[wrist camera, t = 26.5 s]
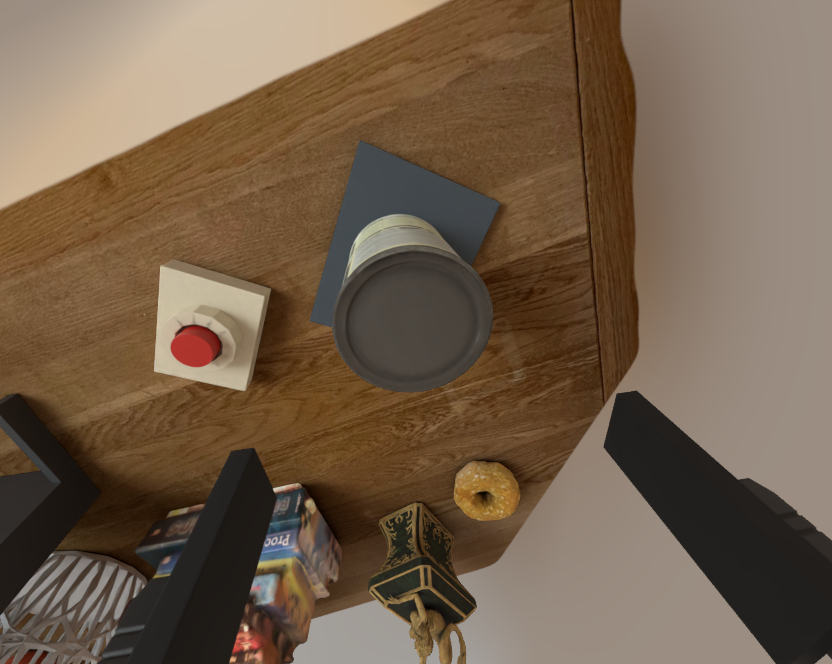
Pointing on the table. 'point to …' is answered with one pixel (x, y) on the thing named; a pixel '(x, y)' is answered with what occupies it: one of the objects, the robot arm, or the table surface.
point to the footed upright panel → (36, 499)
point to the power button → (195, 346)
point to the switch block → (210, 322)
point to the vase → (69, 607)
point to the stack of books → (265, 573)
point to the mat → (399, 194)
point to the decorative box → (422, 581)
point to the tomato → (29, 658)
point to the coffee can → (409, 308)
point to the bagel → (486, 491)
